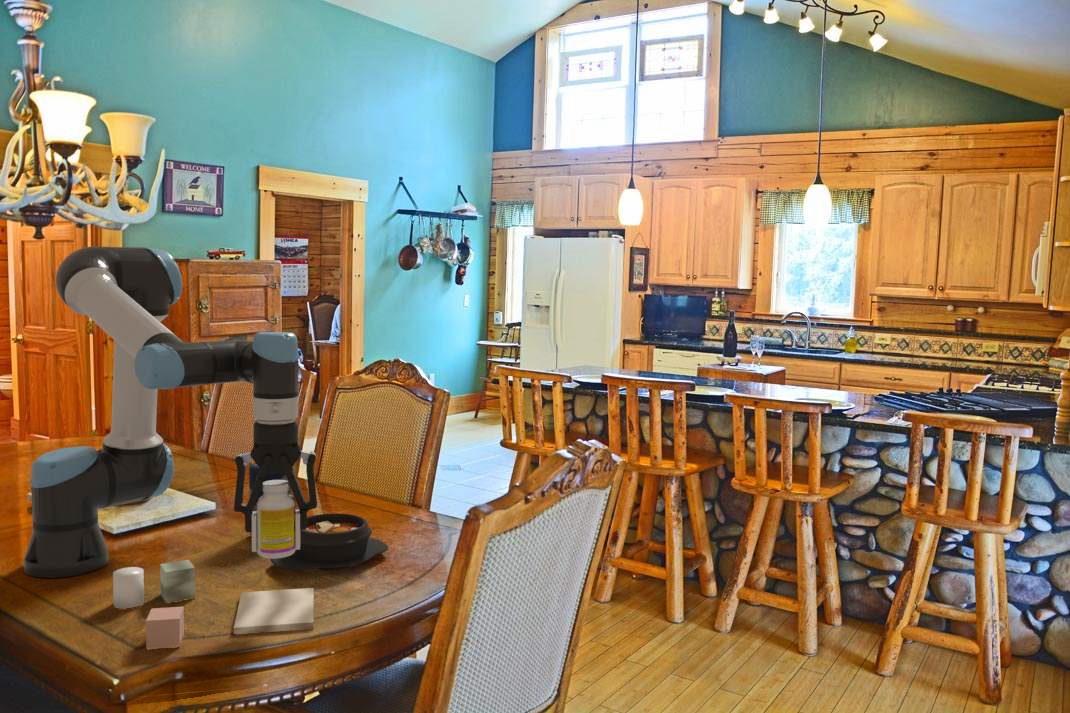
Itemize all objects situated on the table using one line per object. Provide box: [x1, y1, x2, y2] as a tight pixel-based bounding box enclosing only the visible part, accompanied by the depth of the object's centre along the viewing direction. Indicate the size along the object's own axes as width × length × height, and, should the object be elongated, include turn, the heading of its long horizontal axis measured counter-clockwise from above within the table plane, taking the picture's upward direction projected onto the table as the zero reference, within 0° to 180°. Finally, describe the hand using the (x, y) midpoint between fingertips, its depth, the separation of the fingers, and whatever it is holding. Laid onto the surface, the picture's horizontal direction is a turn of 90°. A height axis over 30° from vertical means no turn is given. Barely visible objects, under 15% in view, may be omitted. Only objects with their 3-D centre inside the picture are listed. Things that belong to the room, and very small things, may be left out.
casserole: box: [270, 512, 389, 572], centre depth 181 cm, size 25×19×8 cm
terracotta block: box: [145, 606, 185, 648], centre depth 141 cm, size 5×5×5 cm
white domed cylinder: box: [112, 566, 145, 610], centre depth 156 cm, size 5×5×6 cm
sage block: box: [159, 559, 196, 604], centre depth 160 cm, size 5×5×6 cm
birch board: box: [233, 587, 315, 635], centre depth 154 cm, size 13×16×1 cm
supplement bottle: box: [256, 480, 297, 560], centre depth 152 cm, size 7×7×13 cm
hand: (276, 548), depth 152 cm, fingers closed on supplement bottle, 7 cm apart
